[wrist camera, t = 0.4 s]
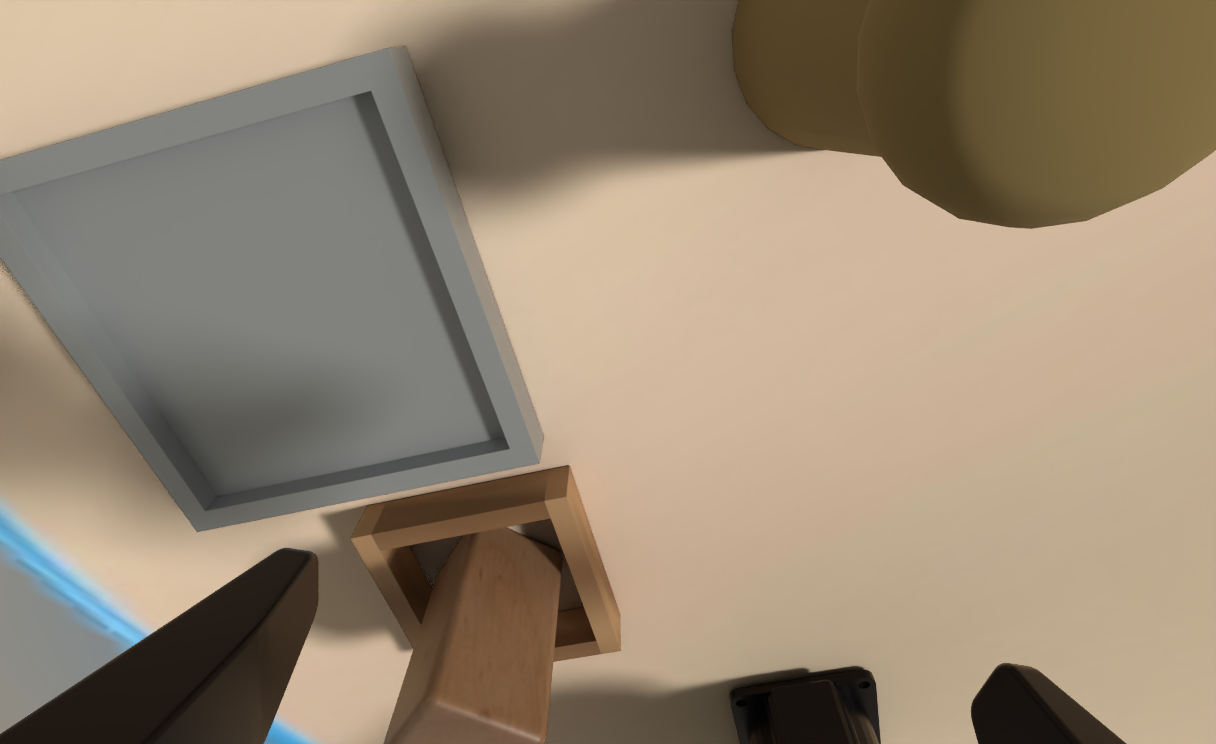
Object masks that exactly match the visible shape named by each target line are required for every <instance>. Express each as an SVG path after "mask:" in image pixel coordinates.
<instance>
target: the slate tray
mask: <svg viewBox="0 0 1216 744" xmlns="http://www.w3.org/2000/svg"><path fill="white" fill-rule="evenodd" d="M0 258H1V259H2V261H3V262H4V263H5V265H6V266H7V268H8V269H9V270H10V272H11V273H12V275H13V276H14V277H15V279H16V280H17V282H18V283H19V284H20V286H21V287H22V289H23V290H24V291H25V293H26V294H27V296H28V297H29V298H30V300H31V301H32V302H33V304H34V305H35V307H36V308H37V309H38V311H39V312H40V314H41V315H42V316H43V318H44V319H45V321H46V322H47V323H48V325H49V326H50V328H51V329H52V330H53V332H54V333H55V335H56V336H57V337H58V339H59V340H60V342H61V343H62V344H63V346H64V347H65V349H66V350H67V351H68V353H69V354H70V356H71V357H72V358H73V360H74V361H75V362H76V364H77V365H78V367H79V368H80V369H81V371H82V372H83V374H84V375H85V376H86V378H87V379H88V381H89V382H90V383H91V385H92V386H93V388H94V389H95V390H96V392H97V393H98V395H99V396H100V397H101V399H102V400H103V402H104V403H105V404H106V406H107V407H108V409H109V410H110V411H111V413H112V414H113V415H114V417H115V418H116V420H117V421H118V422H119V424H120V425H121V427H122V428H123V429H124V431H125V432H126V434H127V435H128V436H129V438H130V439H131V441H132V442H133V443H134V445H135V446H136V448H137V449H138V450H139V452H140V453H141V455H142V456H143V457H144V459H145V460H146V462H147V463H148V464H149V466H150V467H151V468H152V470H153V471H154V473H155V474H156V475H157V477H158V478H159V480H160V481H161V482H162V484H163V485H164V487H165V488H166V489H167V491H168V492H169V494H170V495H171V496H172V498H173V499H174V501H175V502H176V503H177V505H178V506H179V508H180V509H181V510H182V512H183V513H184V515H185V516H186V517H187V519H188V520H189V521H190V523H191V524H192V526H193V527H194V528H195V530H196V531H197V532H200V531H205V530H210V529H215V528H220V527H225V526H230V525H235V524H240V523H245V522H250V521H255V520H260V519H265V518H270V517H275V516H280V515H285V514H290V513H295V512H300V511H305V510H310V509H315V508H320V507H325V506H330V505H335V504H340V503H345V502H350V501H355V500H360V499H365V498H370V497H375V496H380V495H385V494H390V493H395V492H399V491H404V490H409V489H414V488H419V487H424V486H429V485H434V484H439V483H444V482H449V481H454V480H459V479H464V478H469V477H474V476H479V475H484V474H489V473H494V472H499V471H504V470H509V469H514V468H519V467H524V466H529V465H534V464H539V463H540V458H541V452H542V446H543V440H544V435H543V432H542V430H541V427H540V424H539V421H538V418H537V415H536V413H535V410H534V407H533V404H532V401H531V399H530V396H529V393H528V390H527V387H526V384H525V382H524V379H523V376H522V373H521V370H520V367H519V365H518V362H517V359H516V356H515V353H514V350H513V348H512V345H511V342H510V339H509V336H508V333H507V331H506V328H505V325H504V322H503V319H502V317H501V314H500V311H499V308H498V305H497V302H496V300H495V297H494V294H493V291H492V288H491V285H490V283H489V280H488V277H487V274H486V271H485V268H484V266H483V263H482V260H481V257H480V254H479V251H478V249H477V246H476V243H475V240H474V237H473V234H472V232H471V229H470V226H469V223H468V220H467V218H466V215H465V212H464V209H463V206H462V203H461V201H460V198H459V195H458V192H457V189H456V186H455V184H454V181H453V178H452V175H451V172H450V169H449V167H448V164H447V161H446V158H445V155H444V152H443V150H442V147H441V144H440V141H439V138H438V136H437V133H436V130H435V127H434V124H433V121H432V119H431V116H430V113H429V110H428V107H427V104H426V102H425V99H424V96H423V93H422V90H421V87H420V85H419V82H418V79H417V76H416V73H415V70H414V68H413V65H412V62H411V59H410V56H409V54H408V51H407V48H406V46H402V47H393V48H386V49H383V50H379V51H376V52H372V53H369V54H365V55H362V56H359V57H355V58H352V59H348V60H345V61H341V62H338V63H334V64H331V65H327V66H324V67H321V68H317V69H314V70H310V71H307V72H303V73H300V74H296V75H293V76H289V77H286V78H283V79H279V80H276V81H272V82H269V83H265V84H262V85H258V86H255V87H251V88H248V89H244V90H241V91H238V92H234V93H231V94H227V95H224V96H220V97H217V98H213V99H210V100H206V101H203V102H200V103H196V104H193V105H189V106H186V107H182V108H179V109H175V110H172V111H168V112H165V113H162V114H158V115H155V116H151V117H148V118H144V119H141V120H137V121H134V122H130V123H127V124H124V125H120V126H117V127H113V128H110V129H106V130H103V131H99V132H96V133H92V134H89V135H86V136H82V137H79V138H75V139H72V140H68V141H65V142H61V143H58V144H54V145H51V146H47V147H44V148H41V149H37V150H34V151H30V152H27V153H23V154H20V155H16V156H13V157H9V158H6V159H3V160H0Z"/></svg>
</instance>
